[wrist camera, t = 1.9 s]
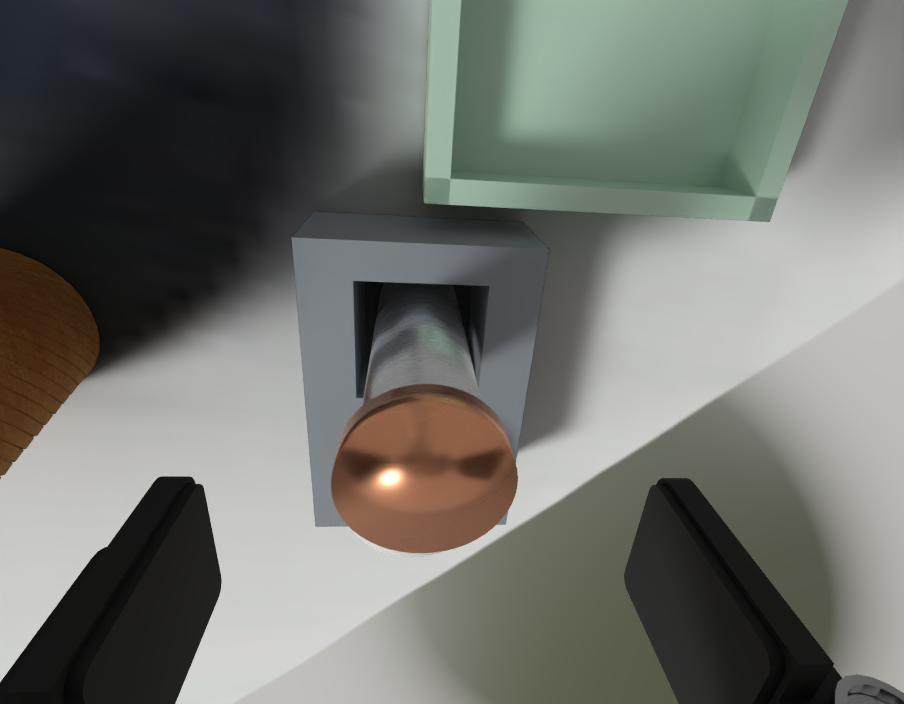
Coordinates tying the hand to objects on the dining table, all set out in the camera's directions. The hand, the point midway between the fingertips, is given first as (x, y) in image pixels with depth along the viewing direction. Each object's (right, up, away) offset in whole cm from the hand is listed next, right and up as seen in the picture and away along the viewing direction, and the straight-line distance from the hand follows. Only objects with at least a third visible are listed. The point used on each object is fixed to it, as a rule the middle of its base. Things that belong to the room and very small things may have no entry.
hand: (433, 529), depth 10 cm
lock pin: (-1, +6, +10) cm, 12 cm away
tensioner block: (-1, +4, +11) cm, 12 cm away
